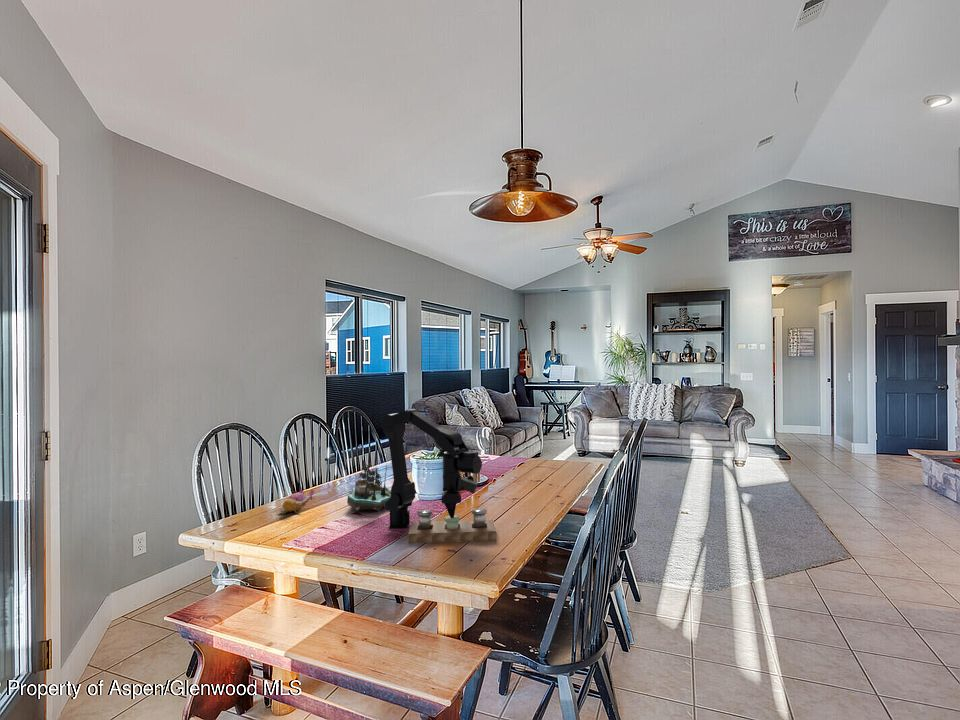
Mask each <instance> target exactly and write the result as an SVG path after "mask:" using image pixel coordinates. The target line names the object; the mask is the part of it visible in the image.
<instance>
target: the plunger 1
mask: <svg viewBox="0 0 960 720" xmlns="http://www.w3.org/2000/svg"><path fill="white" fill-rule="evenodd" d="M416 513H417V514H416V515H417V516H418V522H419V527H420V528H429V527H431V522H432V516H433V510H431V509H422V510H421V509H420V510H418V511H416Z"/></svg>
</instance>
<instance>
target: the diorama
mask: <svg viewBox="0 0 960 720" xmlns="http://www.w3.org/2000/svg"><path fill="white" fill-rule="evenodd" d="M370 465H371V463H369V464H364V467H361V471H362V472H360V473H358V476H359V478H358V480H356V481H355V485H354V486H355V488H354V489H353V488H351V491H349V493H348V495H347V499H346V500H347V505H348V506H349V507H351V508H352V509H354V510H356V511H358V512H359V511H360V512H362V511H371V510H372V511H378V512H379V511H380V510H381V509H383V508H384V507H385V503H386V502H387V501H388V500H389V499H390V498H391V488H389V487H386V478H387V472H385V473H384V475H385V476H384V481H382V480H381V479H382V475H381V474H380V473H379V472H378V471H379V468H375V470H371V469H370ZM387 467H388V464H386V466H385V471H388V470H387ZM383 482H384V483H383ZM382 483H383V485H382ZM385 508H386V507H385Z"/></svg>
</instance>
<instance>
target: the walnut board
mask: <svg viewBox="0 0 960 720" xmlns="http://www.w3.org/2000/svg"><path fill="white" fill-rule="evenodd" d="M410 523H411V524H410V527H409V531H408V535H407V537H408V544H421V543H424V544H426V543H453V542H454V543H455V542H456V543H458V542H459V543H462V542H482V541H483V542H491V541H493V542H495V541H496V542H497V532H496V531H497V530H496V526H495V521H494V519H485V526H474V525H473V520H460V521H458V529H446V521H445V520H444V521H443V520H442V521H441V520H440V521H431V527H429V528H420V527H419V521H411V522H410Z"/></svg>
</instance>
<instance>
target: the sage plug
mask: <svg viewBox="0 0 960 720" xmlns="http://www.w3.org/2000/svg"><path fill="white" fill-rule="evenodd" d="M444 521H446V529H458V521H461V518H460V516H458V515H456V514H454V518H450V515H447V516H445V517H444Z"/></svg>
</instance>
